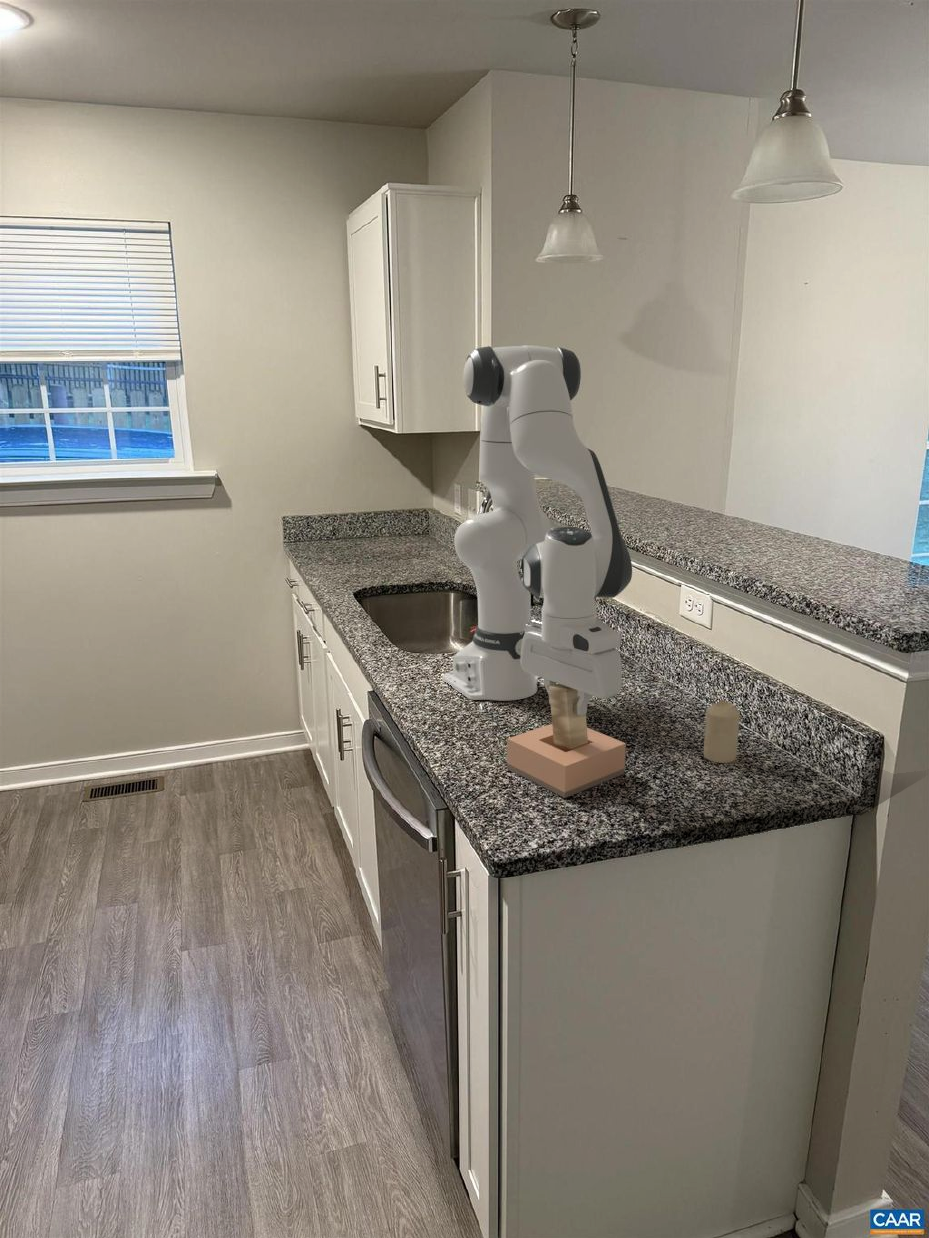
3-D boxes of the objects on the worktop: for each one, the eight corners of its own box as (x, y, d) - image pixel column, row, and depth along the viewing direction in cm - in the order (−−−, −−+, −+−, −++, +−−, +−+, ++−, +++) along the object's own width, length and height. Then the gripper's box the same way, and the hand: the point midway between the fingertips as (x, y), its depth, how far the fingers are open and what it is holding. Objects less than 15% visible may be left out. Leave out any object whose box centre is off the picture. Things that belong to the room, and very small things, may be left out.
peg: (554, 744, 141) (549, 686, 139) (571, 737, 143) (566, 681, 141) (571, 748, 138) (566, 689, 136) (588, 742, 140) (583, 684, 138)
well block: (507, 768, 144) (507, 738, 142) (565, 747, 152) (566, 718, 151) (564, 798, 133) (565, 766, 132) (624, 773, 141) (625, 743, 140)
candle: (705, 762, 145) (709, 708, 143) (701, 749, 150) (705, 697, 148) (738, 764, 144) (742, 710, 142) (733, 751, 150) (737, 698, 147)
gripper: (511, 620, 142) (512, 697, 145) (601, 646, 126) (599, 731, 130) (539, 613, 146) (538, 689, 149) (629, 638, 130) (626, 721, 134)
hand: (567, 709), depth 139 cm, fingers closed on peg, 4 cm apart
